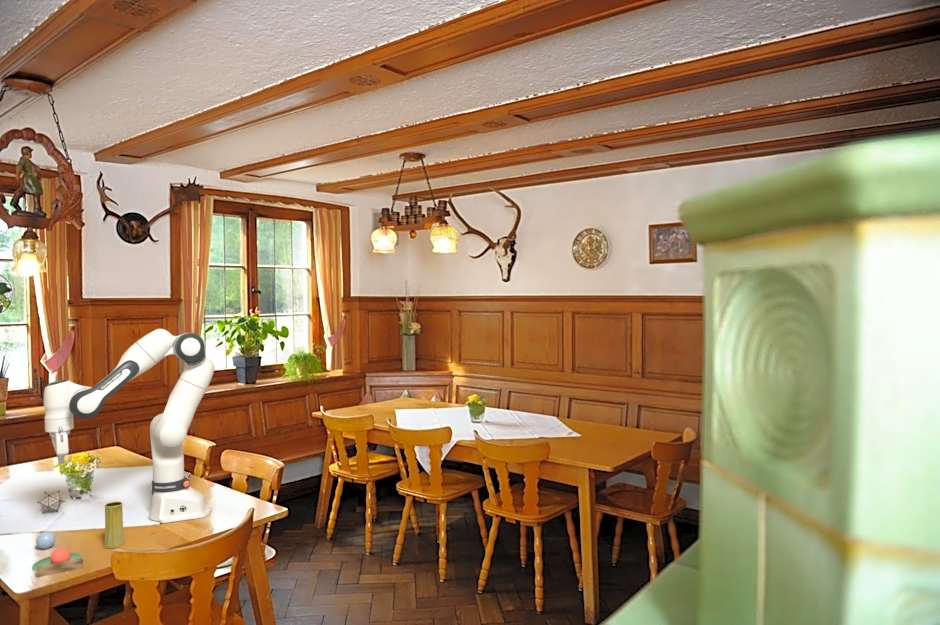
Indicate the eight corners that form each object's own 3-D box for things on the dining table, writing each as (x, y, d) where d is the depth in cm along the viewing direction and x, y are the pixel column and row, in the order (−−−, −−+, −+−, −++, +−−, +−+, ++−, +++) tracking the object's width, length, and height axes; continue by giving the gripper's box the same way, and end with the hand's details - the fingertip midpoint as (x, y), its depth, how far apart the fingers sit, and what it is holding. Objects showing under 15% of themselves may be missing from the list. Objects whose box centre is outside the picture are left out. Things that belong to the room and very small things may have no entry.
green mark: (90, 551, 214) (90, 551, 214) (75, 569, 201) (75, 568, 201) (42, 556, 211) (42, 555, 211) (24, 574, 197) (24, 573, 197)
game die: (52, 522, 253) (47, 507, 247) (35, 513, 254) (29, 498, 248) (71, 505, 260) (67, 490, 254) (54, 496, 261) (49, 481, 255)
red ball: (73, 564, 205) (72, 547, 207) (67, 562, 200) (66, 544, 202) (54, 570, 203) (53, 553, 205) (47, 568, 198) (46, 550, 201)
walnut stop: (82, 565, 203) (82, 557, 203) (83, 567, 202) (82, 559, 202) (36, 575, 196) (36, 566, 196) (37, 577, 195) (36, 569, 195)
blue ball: (47, 529, 216) (59, 540, 217) (47, 527, 220) (59, 538, 222) (31, 542, 213) (44, 553, 214) (32, 539, 218) (44, 550, 219)
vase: (109, 542, 223) (108, 501, 222) (127, 541, 223) (127, 500, 223) (100, 549, 217) (100, 507, 216) (119, 548, 217) (118, 506, 217)
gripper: (72, 428, 226) (74, 467, 227) (67, 419, 243) (69, 455, 243) (51, 431, 222) (53, 470, 223) (47, 422, 239) (49, 458, 239)
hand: (61, 462), depth 233 cm, fingers closed
